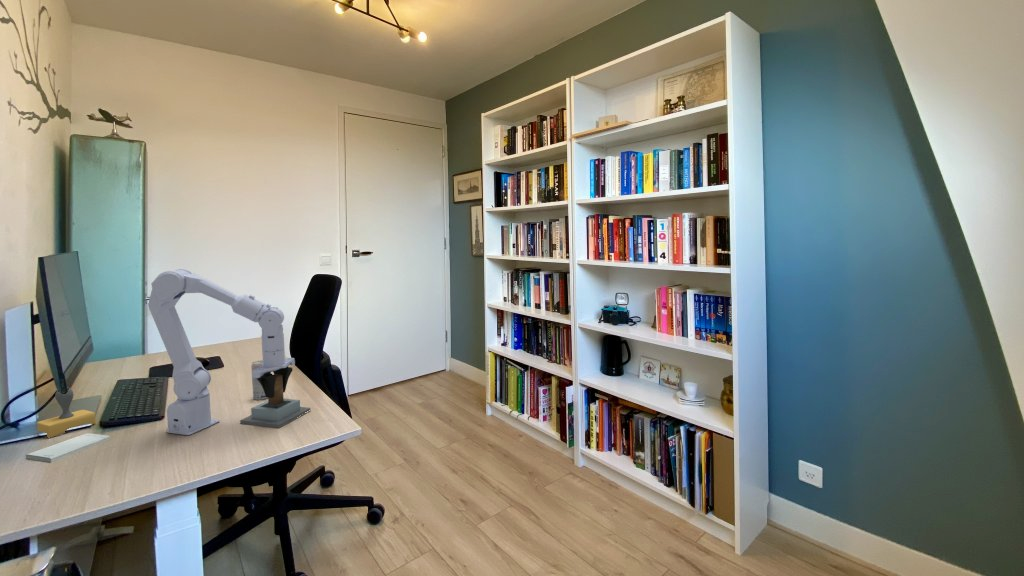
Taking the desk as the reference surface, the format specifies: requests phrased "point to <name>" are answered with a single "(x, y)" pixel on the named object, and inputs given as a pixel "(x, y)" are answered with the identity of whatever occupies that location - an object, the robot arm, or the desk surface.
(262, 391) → the energy drink
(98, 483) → the desk surface
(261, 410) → the socket block
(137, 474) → the desk surface
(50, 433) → the rubber stamp
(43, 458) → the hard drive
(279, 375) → the walnut pin
